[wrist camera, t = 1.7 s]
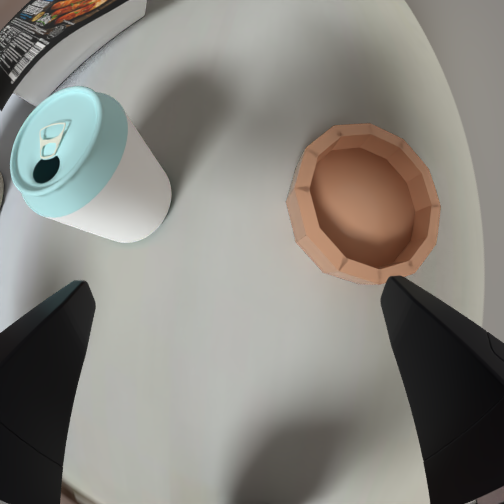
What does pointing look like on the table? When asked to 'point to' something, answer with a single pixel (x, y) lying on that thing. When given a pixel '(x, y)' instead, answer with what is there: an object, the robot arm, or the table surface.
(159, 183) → the can
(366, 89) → the table surface
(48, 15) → the food packaging
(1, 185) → the travel mug
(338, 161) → the bowl
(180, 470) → the table surface
